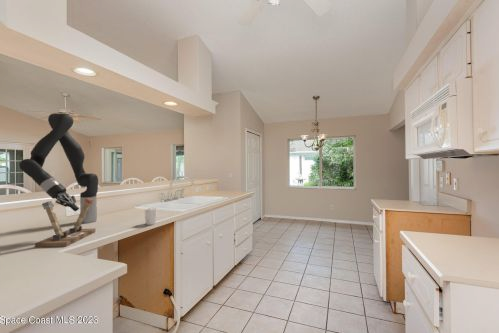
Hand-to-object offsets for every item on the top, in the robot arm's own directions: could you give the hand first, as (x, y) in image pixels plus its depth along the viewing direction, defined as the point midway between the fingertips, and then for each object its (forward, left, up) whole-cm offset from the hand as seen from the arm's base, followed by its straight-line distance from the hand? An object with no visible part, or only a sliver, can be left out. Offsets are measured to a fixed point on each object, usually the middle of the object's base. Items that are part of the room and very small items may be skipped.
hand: (77, 209), depth 127 cm
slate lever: (+12, -1, -11) cm, 16 cm away
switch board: (+6, -1, -14) cm, 15 cm away
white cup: (-23, +32, -14) cm, 42 cm away
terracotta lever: (0, -1, -11) cm, 12 cm away
